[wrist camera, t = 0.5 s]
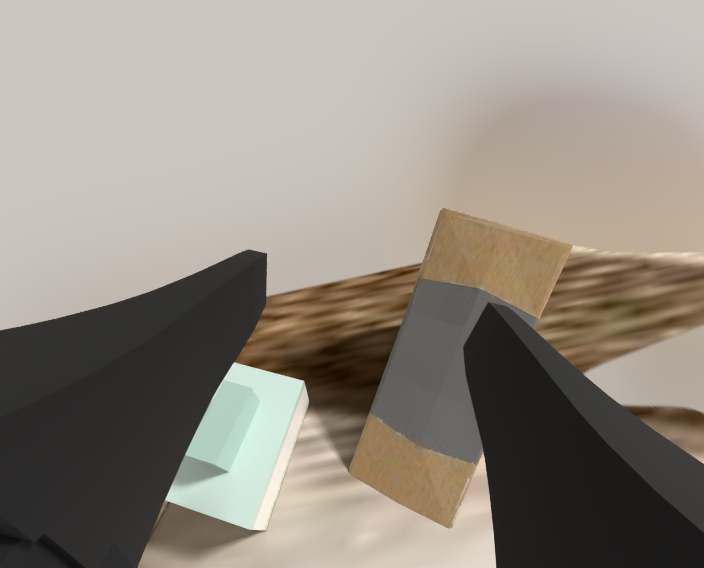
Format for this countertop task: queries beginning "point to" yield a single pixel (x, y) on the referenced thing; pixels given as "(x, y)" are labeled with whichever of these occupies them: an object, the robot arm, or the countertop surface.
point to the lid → (237, 445)
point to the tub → (282, 464)
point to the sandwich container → (448, 360)
